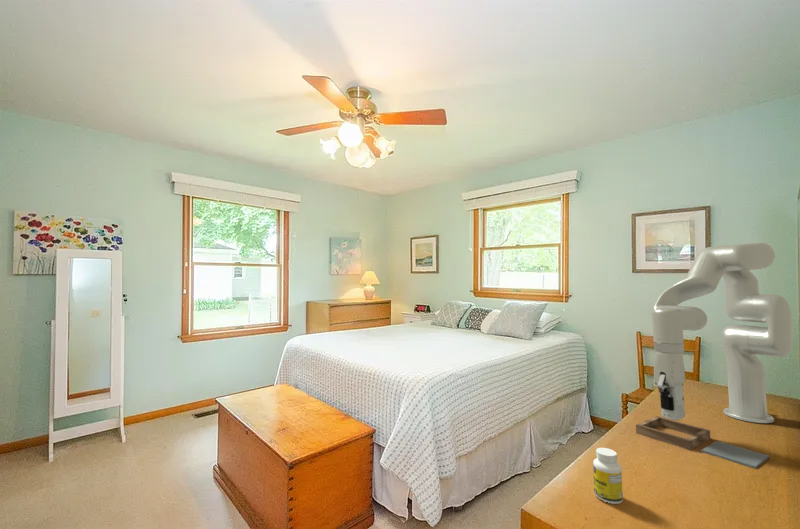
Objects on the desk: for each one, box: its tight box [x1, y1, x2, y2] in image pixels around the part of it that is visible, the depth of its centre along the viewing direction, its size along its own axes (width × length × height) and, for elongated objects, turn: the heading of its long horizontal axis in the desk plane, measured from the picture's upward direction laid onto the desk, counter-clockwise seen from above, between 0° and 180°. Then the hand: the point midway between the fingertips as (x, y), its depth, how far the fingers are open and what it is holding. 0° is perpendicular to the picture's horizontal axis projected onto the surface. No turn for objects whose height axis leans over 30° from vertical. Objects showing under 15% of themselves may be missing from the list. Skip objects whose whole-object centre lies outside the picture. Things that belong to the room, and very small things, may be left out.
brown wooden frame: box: [635, 415, 711, 451], centre depth 111 cm, size 14×14×2 cm
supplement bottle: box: [592, 447, 624, 505], centre depth 79 cm, size 5×5×10 cm
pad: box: [701, 440, 770, 470], centre depth 98 cm, size 11×11×1 cm
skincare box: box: [660, 383, 686, 422], centre depth 112 cm, size 6×4×12 cm
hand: (672, 406), depth 111 cm, fingers closed on skincare box, 6 cm apart
